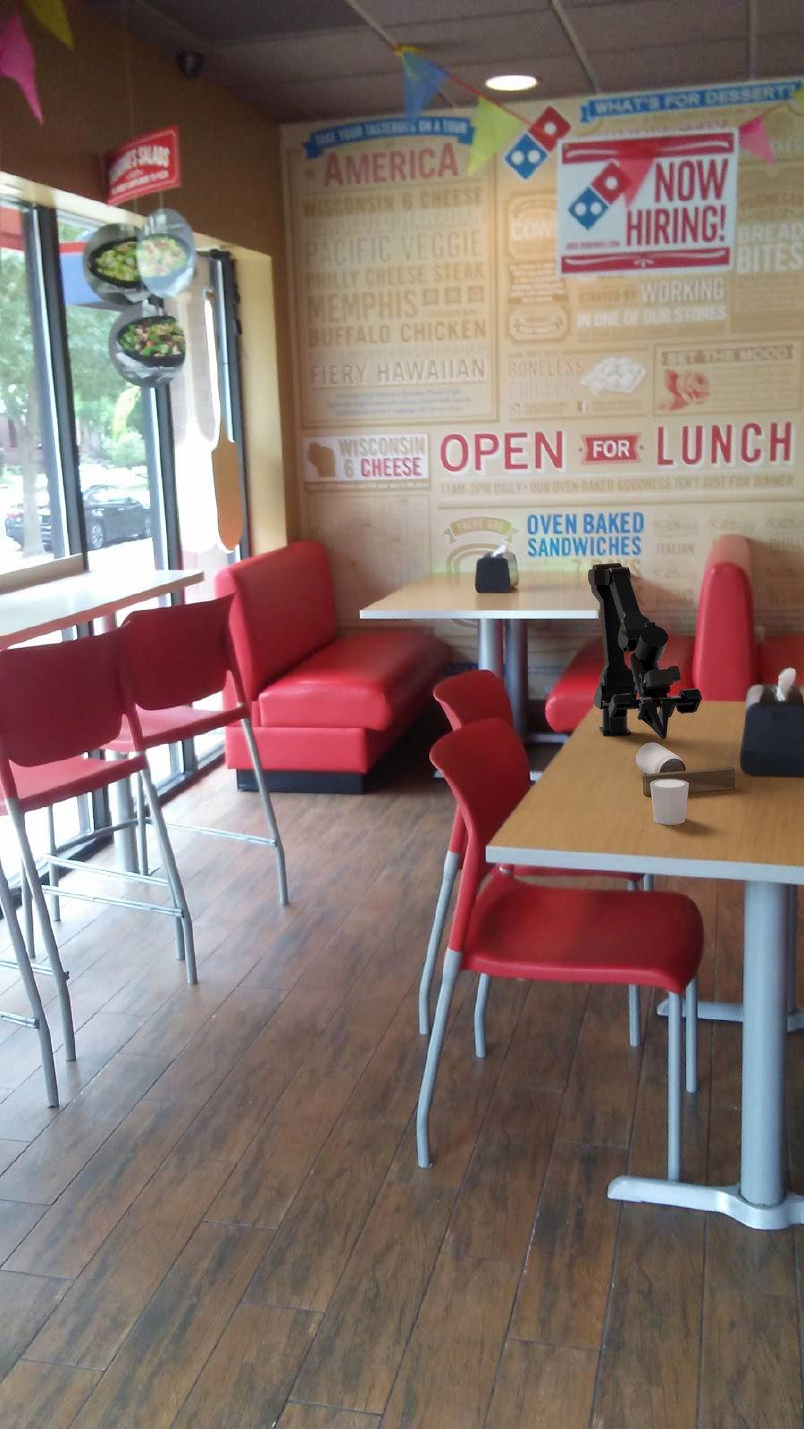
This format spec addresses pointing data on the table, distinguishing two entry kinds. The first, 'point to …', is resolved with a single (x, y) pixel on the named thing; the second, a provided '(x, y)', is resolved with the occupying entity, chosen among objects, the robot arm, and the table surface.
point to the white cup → (669, 800)
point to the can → (658, 759)
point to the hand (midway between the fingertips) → (664, 737)
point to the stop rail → (696, 779)
